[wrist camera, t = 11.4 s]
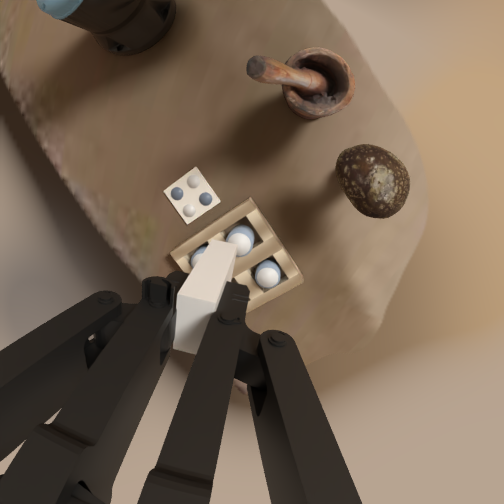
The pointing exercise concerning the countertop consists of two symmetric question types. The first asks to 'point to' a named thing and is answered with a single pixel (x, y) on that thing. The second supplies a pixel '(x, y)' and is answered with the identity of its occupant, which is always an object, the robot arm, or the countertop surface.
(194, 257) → the button
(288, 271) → the wooden compartment tray
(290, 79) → the mortar and pestle
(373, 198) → the mushroom
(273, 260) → the button
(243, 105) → the countertop surface
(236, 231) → the button
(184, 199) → the card
